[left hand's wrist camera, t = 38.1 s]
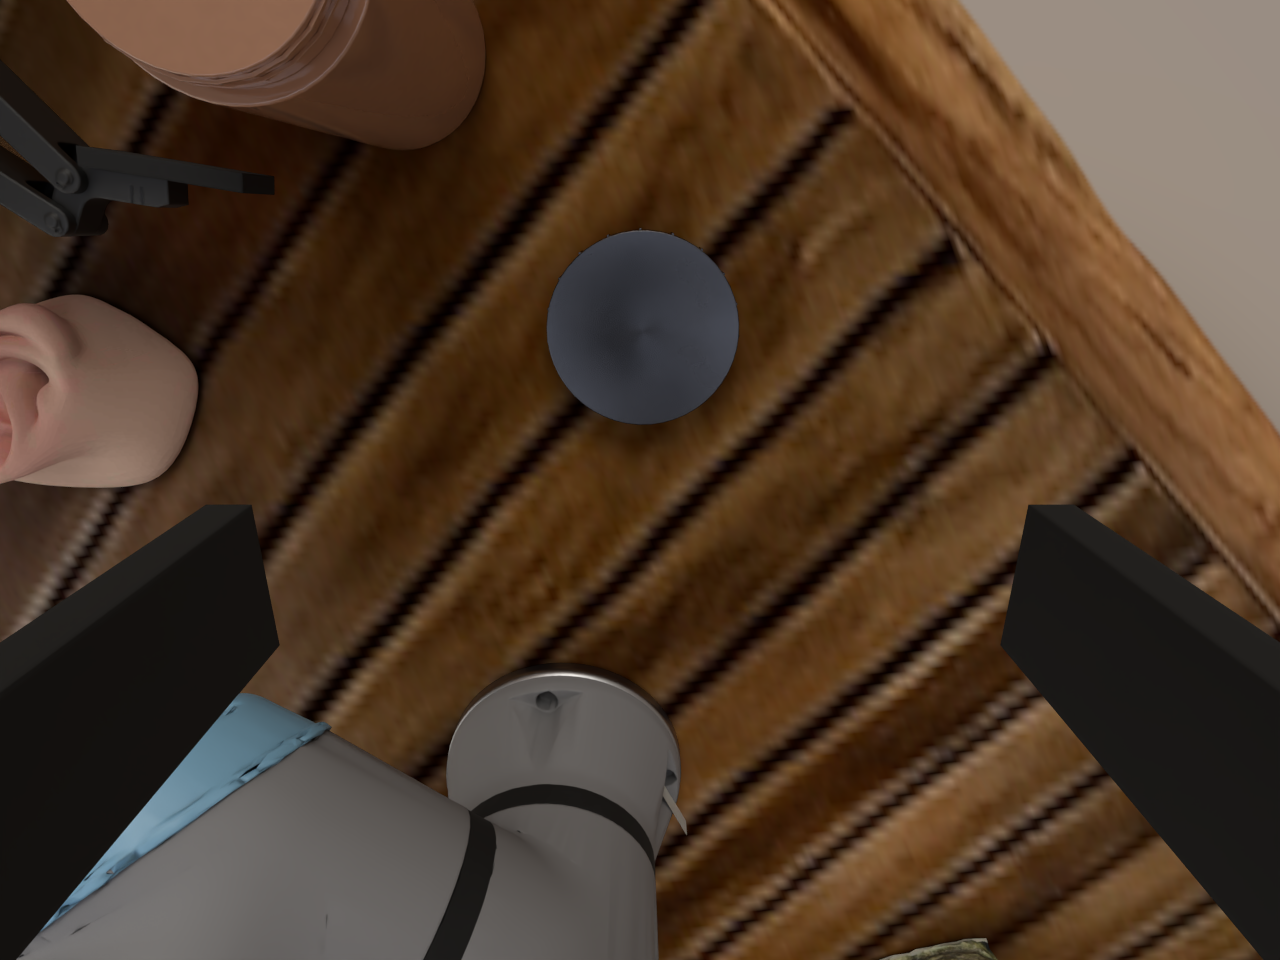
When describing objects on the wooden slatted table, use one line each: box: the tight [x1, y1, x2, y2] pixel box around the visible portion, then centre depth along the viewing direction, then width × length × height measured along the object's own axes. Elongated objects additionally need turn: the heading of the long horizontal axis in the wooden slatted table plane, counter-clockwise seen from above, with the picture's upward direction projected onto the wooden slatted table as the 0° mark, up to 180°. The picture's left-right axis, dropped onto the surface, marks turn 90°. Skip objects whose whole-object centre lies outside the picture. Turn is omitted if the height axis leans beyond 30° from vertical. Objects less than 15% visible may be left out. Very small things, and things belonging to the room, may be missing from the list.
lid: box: [547, 228, 739, 425], centre depth 38 cm, size 10×10×2 cm
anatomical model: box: [0, 295, 198, 488], centre depth 38 cm, size 13×4×12 cm
